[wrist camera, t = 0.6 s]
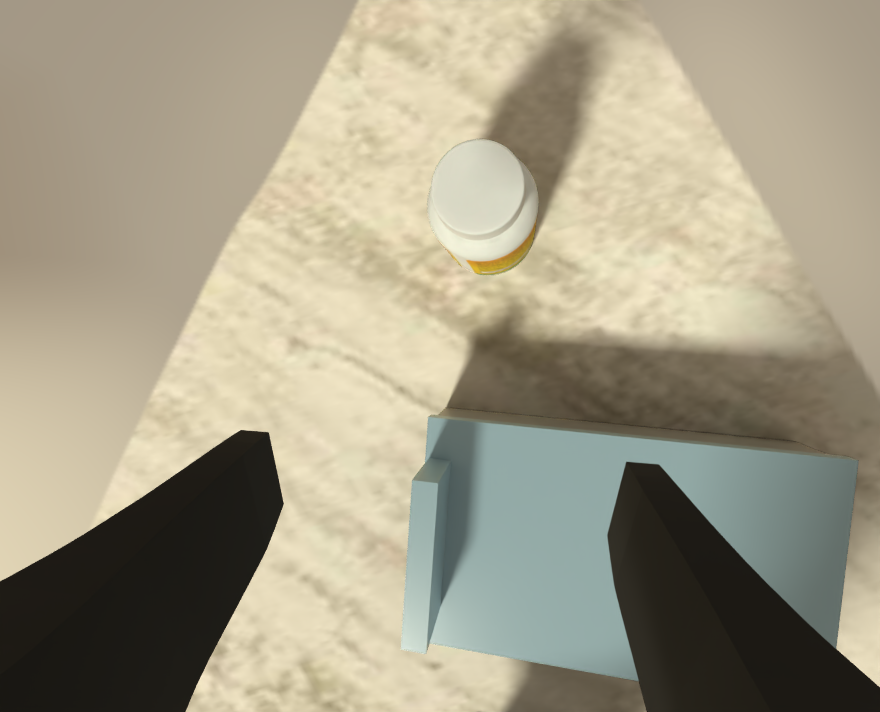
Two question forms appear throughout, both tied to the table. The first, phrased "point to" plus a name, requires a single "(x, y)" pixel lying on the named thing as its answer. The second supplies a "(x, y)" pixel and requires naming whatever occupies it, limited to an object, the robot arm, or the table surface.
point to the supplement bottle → (483, 206)
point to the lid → (598, 535)
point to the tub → (630, 430)
